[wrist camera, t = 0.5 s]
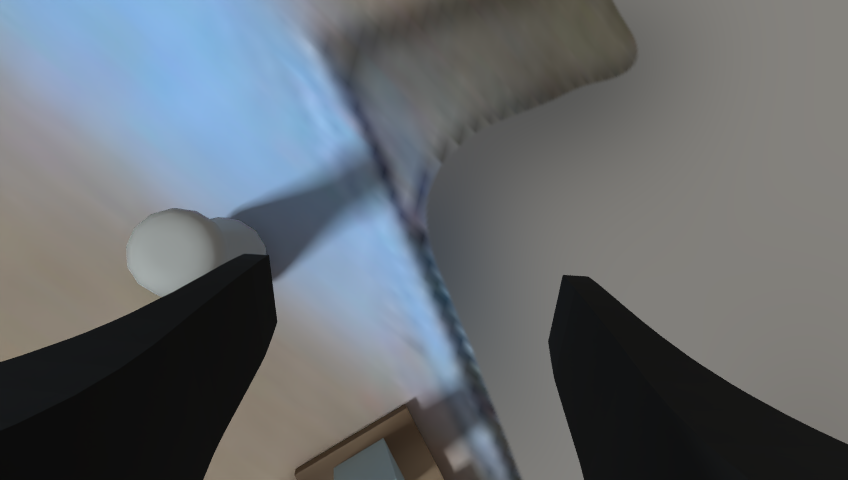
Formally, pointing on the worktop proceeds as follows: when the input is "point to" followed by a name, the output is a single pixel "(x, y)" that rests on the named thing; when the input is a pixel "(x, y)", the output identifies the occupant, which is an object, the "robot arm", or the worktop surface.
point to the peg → (370, 465)
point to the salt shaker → (185, 248)
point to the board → (396, 432)
